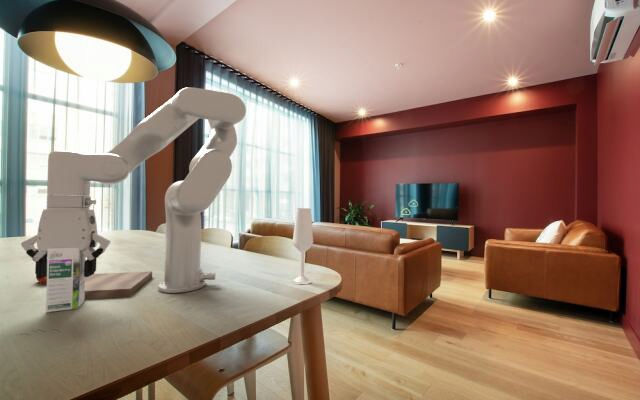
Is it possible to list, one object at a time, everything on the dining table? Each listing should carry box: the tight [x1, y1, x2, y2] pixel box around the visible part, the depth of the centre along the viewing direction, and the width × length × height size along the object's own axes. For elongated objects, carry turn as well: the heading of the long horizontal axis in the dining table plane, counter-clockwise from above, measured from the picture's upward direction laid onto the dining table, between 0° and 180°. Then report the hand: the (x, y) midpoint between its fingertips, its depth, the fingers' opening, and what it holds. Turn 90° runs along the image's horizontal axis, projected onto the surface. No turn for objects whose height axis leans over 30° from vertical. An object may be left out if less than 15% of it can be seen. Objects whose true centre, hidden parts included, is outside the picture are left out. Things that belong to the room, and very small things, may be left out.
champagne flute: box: [292, 207, 314, 282], centre depth 89 cm, size 7×7×24 cm
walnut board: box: [84, 271, 153, 300], centre depth 79 cm, size 17×18×2 cm
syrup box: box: [45, 248, 87, 313], centre depth 65 cm, size 6×6×14 cm
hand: (66, 276), depth 65 cm, fingers open, 8 cm apart
